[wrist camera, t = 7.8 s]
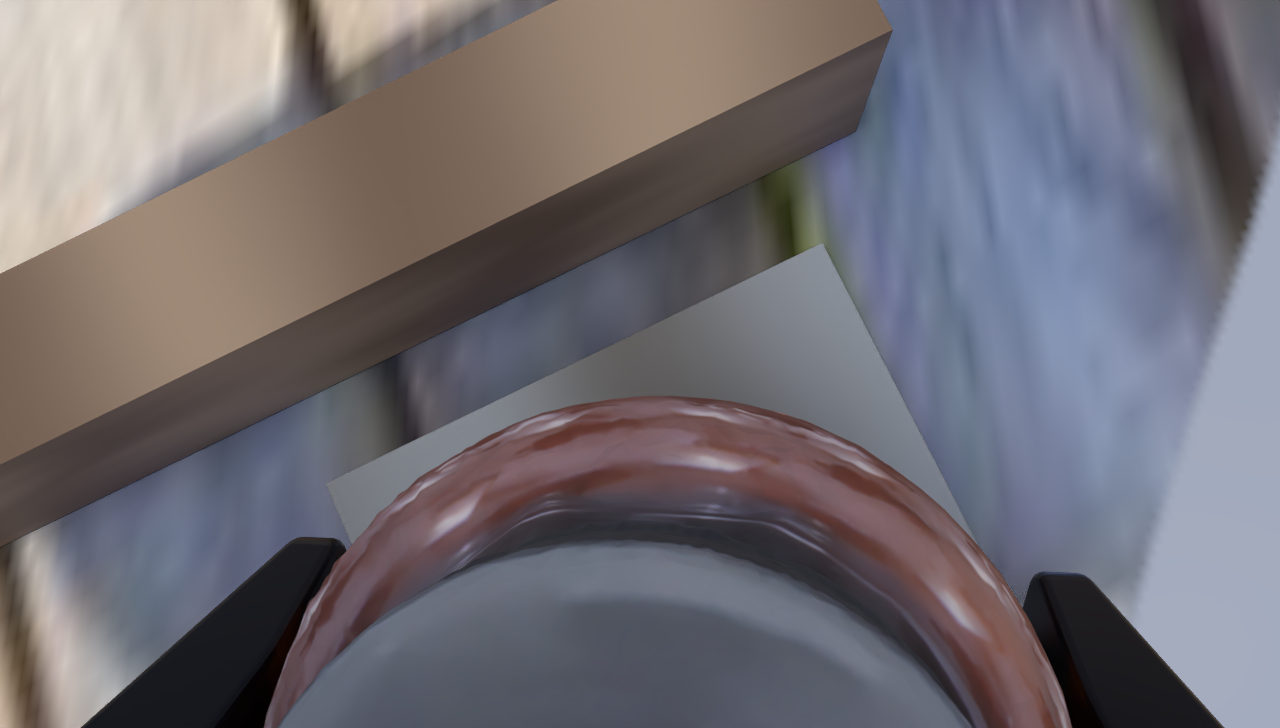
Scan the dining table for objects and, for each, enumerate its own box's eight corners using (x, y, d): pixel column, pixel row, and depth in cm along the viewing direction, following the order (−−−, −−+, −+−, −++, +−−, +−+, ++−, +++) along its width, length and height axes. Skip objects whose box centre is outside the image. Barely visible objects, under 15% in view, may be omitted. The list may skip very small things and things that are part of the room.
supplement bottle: (576, 390, 17) (267, 149, 5) (956, 521, 16) (1500, 555, 5) (439, 770, 16) (-225, 1380, 5) (826, 924, 15) (1095, 2050, 4)
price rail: (-334, 1434, 17) (-654, 1718, 13) (-564, 652, 19) (-905, 694, 15) (1169, 722, 17) (1308, 794, 13) (783, -6, 18) (800, -142, 15)
